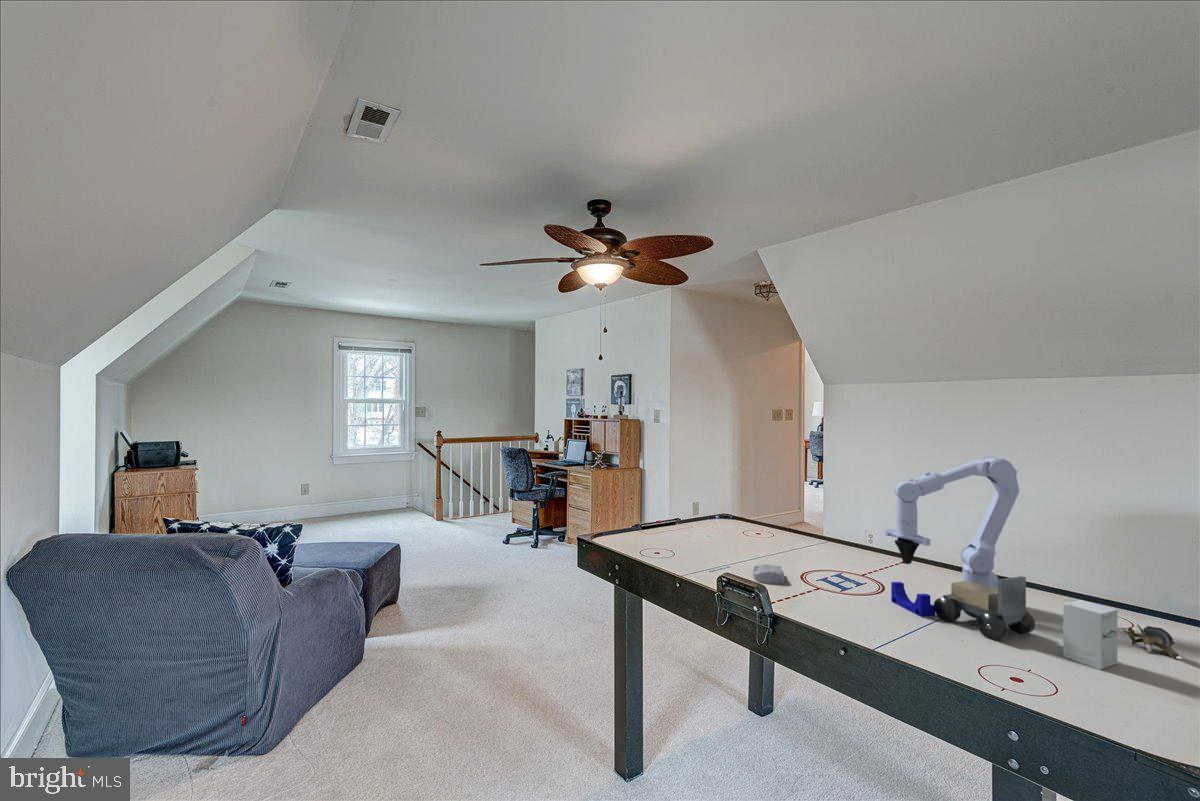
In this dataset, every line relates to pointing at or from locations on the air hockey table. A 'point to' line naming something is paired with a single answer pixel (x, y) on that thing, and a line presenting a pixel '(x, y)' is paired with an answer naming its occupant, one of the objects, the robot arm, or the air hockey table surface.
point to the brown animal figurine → (1153, 639)
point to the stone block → (768, 574)
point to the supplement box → (1090, 634)
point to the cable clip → (918, 608)
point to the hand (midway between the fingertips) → (907, 563)
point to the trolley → (989, 606)
